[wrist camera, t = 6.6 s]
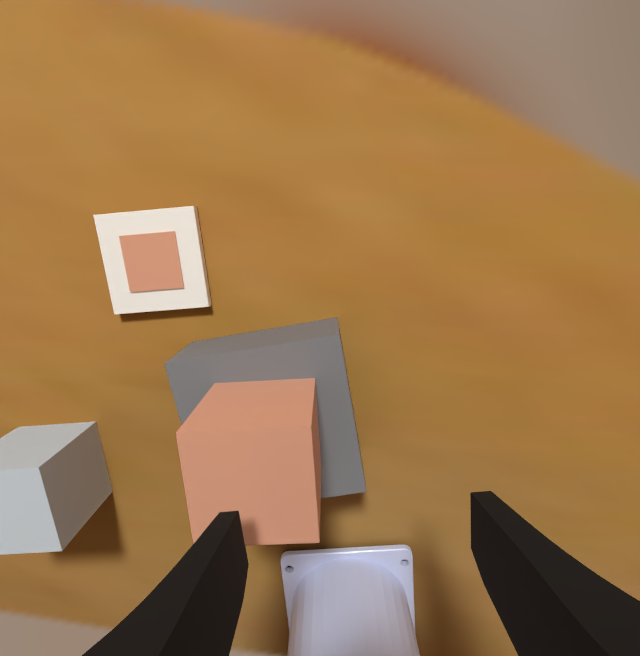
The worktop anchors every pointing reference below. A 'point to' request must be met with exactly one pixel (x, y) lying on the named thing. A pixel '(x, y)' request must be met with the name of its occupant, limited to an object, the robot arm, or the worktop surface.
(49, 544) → the light gray cube
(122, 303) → the tile
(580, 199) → the worktop surface
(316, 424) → the terracotta cube
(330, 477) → the charcoal base block
